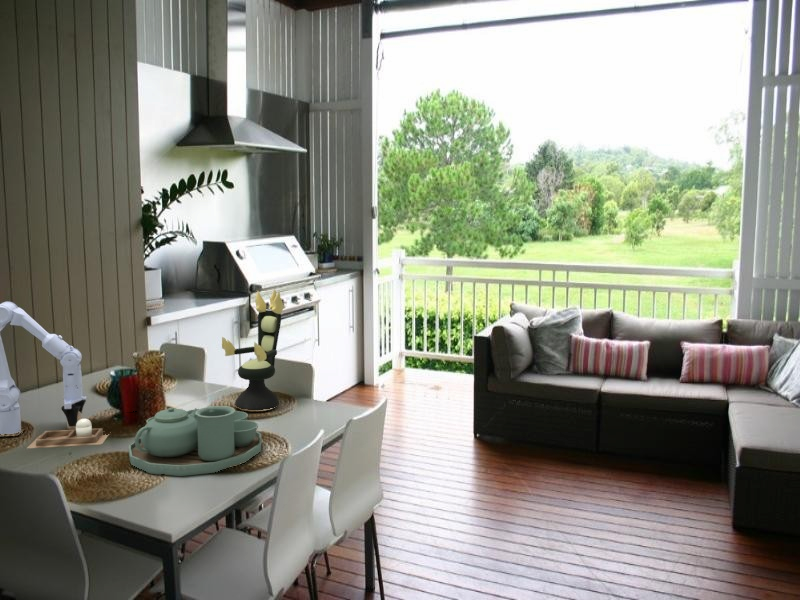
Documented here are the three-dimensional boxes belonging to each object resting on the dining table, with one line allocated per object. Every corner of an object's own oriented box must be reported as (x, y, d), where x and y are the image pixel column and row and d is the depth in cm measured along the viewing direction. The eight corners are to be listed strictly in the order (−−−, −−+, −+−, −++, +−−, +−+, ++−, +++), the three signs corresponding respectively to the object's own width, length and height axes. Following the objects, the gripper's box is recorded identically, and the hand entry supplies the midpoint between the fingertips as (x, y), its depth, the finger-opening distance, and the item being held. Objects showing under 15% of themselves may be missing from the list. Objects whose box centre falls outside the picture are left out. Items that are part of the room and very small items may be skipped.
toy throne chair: (221, 408, 252) (218, 291, 246) (262, 395, 271) (260, 286, 265) (257, 417, 242) (255, 295, 236) (297, 403, 261) (296, 289, 255)
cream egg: (74, 441, 212) (73, 421, 212) (78, 436, 217) (77, 417, 216) (90, 440, 213) (89, 420, 212) (93, 436, 218) (92, 416, 217)
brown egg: (66, 431, 224) (64, 412, 223) (69, 427, 228) (68, 408, 228) (80, 430, 225) (79, 411, 224) (84, 426, 229) (83, 407, 228)
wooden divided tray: (26, 450, 206) (26, 442, 206) (40, 436, 218) (39, 429, 218) (101, 446, 210) (101, 438, 210) (111, 433, 223) (110, 426, 222)
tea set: (283, 439, 219) (282, 390, 217) (217, 485, 181) (216, 427, 179) (179, 427, 230) (178, 381, 228) (97, 468, 192) (94, 413, 190)
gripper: (79, 389, 218) (81, 429, 220) (90, 379, 232) (92, 416, 234) (56, 390, 217) (58, 430, 219) (69, 380, 231) (71, 417, 233)
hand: (74, 423), depth 226 cm, fingers closed on brown egg, 5 cm apart
